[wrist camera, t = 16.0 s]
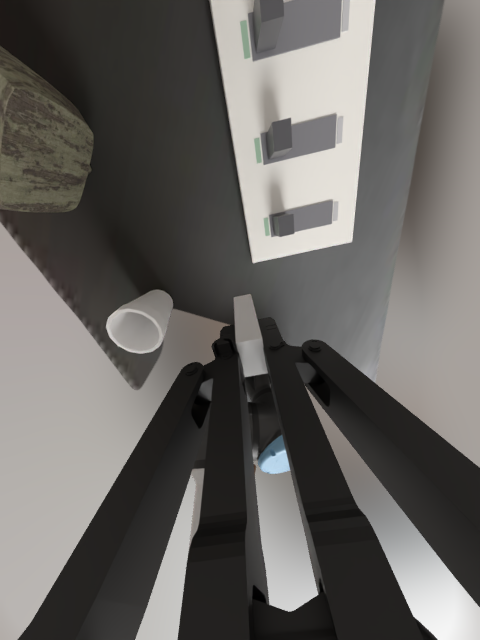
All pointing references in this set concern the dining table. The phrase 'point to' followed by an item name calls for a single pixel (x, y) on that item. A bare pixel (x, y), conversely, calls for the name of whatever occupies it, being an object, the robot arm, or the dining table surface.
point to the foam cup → (141, 322)
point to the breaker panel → (297, 117)
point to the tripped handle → (279, 138)
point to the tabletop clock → (39, 143)
